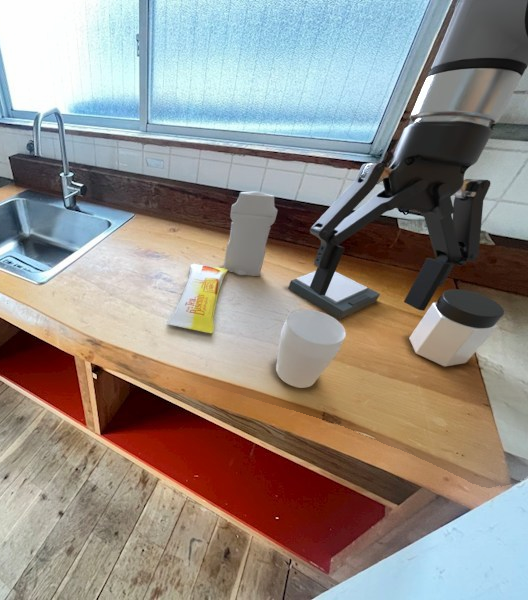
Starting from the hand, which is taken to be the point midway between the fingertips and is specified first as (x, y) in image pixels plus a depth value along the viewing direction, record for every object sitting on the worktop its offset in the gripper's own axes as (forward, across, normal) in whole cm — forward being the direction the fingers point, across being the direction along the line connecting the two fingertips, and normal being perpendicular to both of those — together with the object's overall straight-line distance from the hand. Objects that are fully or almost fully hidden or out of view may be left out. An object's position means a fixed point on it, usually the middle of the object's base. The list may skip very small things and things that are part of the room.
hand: (365, 299), depth 44 cm
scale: (+10, -17, -33) cm, 39 cm away
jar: (+13, -30, -15) cm, 35 cm away
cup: (+19, -1, -9) cm, 21 cm away
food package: (+16, +14, -33) cm, 39 cm away
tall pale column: (+11, +2, -44) cm, 45 cm away
